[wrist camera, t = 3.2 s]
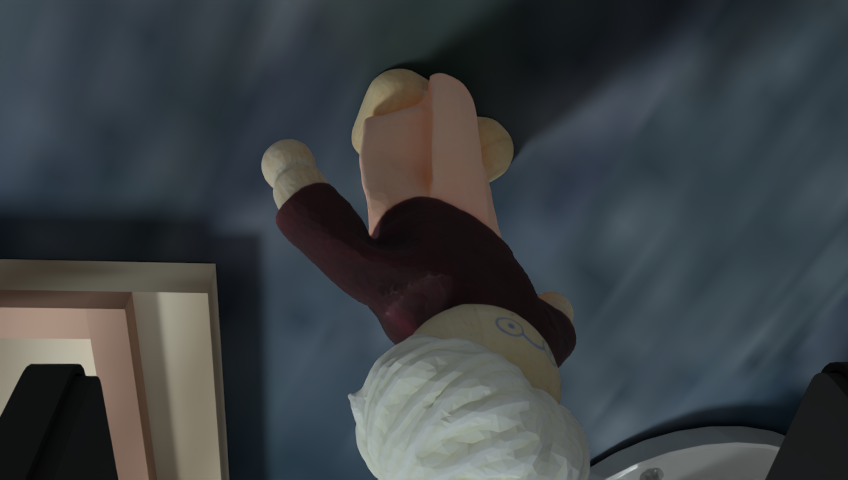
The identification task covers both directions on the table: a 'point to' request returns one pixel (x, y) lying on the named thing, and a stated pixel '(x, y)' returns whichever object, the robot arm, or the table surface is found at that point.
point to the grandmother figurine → (437, 292)
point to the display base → (128, 354)
